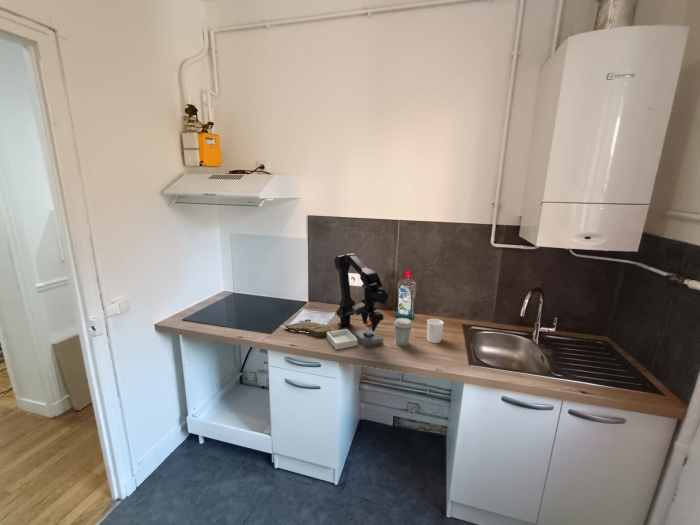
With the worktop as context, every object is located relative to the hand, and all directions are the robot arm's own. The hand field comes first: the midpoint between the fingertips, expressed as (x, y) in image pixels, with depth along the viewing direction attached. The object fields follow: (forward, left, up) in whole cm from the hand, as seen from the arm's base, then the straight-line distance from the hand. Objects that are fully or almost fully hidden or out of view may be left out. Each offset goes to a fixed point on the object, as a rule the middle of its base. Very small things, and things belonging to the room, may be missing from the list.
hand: (368, 327), depth 153 cm
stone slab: (-22, -25, -8) cm, 34 cm away
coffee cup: (+9, +14, -7) cm, 18 cm away
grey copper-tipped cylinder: (0, 0, -7) cm, 7 cm away
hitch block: (0, 0, -7) cm, 7 cm away
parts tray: (-4, -13, -7) cm, 15 cm away
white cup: (+12, +31, -7) cm, 34 cm away
